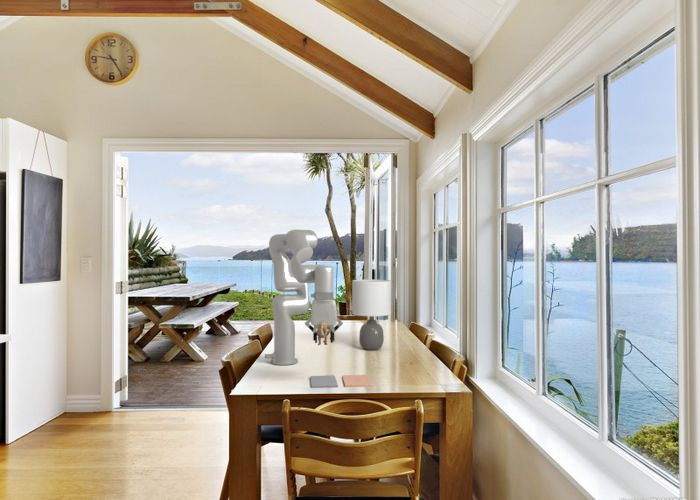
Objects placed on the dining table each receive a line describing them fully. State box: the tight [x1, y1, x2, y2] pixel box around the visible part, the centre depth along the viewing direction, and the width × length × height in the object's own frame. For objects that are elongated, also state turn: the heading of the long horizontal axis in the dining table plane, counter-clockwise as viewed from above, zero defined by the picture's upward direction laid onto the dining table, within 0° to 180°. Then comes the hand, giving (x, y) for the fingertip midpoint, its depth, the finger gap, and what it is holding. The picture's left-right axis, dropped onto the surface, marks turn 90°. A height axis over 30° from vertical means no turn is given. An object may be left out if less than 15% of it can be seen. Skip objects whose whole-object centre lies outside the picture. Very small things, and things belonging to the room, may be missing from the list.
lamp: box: [351, 279, 392, 351], centre depth 267 cm, size 21×21×37 cm
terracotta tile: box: [342, 374, 372, 388], centre depth 199 cm, size 10×16×1 cm, turn 5°
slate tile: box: [309, 374, 339, 389], centre depth 198 cm, size 10×16×1 cm, turn 6°
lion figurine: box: [316, 323, 335, 346], centre depth 200 cm, size 15×5×9 cm, turn 169°
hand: (323, 341), depth 198 cm, fingers closed on lion figurine, 5 cm apart
